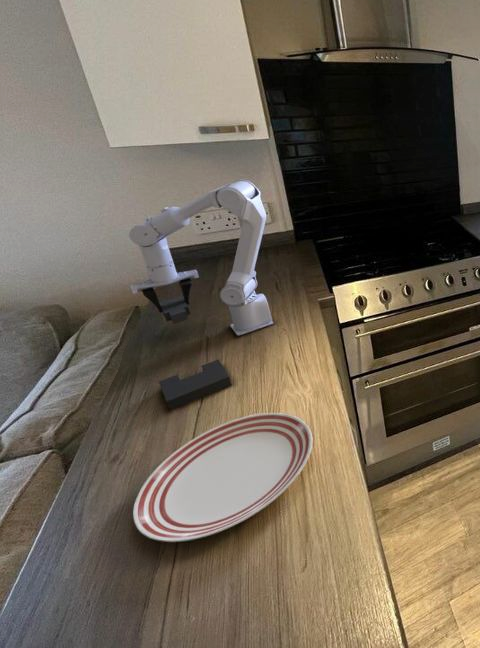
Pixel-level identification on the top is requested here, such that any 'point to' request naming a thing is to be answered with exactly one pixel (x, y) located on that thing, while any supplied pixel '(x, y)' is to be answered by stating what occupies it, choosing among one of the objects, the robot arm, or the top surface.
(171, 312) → the tongue pad
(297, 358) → the top surface
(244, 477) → the dinner plate
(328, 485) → the top surface
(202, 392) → the notch pad
